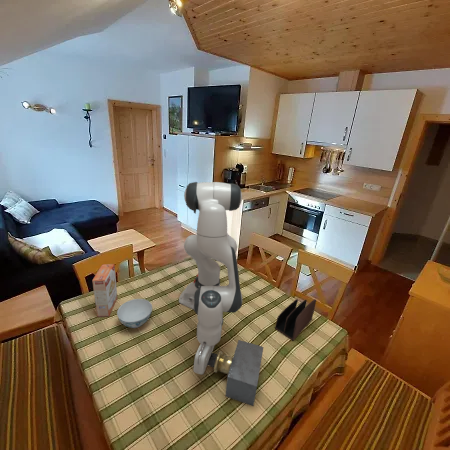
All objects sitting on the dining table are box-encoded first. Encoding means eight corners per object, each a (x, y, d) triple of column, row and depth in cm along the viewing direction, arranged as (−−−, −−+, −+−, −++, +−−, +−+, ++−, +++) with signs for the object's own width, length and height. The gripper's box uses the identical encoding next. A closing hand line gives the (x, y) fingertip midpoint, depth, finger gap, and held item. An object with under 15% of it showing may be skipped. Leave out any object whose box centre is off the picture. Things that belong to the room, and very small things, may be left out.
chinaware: (159, 323, 111) (158, 310, 108) (128, 341, 100) (126, 327, 98) (142, 306, 120) (141, 294, 117) (113, 321, 110) (111, 308, 107)
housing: (225, 396, 83) (227, 376, 79) (236, 357, 97) (238, 339, 93) (253, 406, 80) (256, 386, 77) (260, 365, 95) (263, 347, 91)
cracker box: (110, 316, 112) (105, 280, 105) (96, 317, 112) (91, 280, 104) (118, 297, 125) (114, 263, 118) (106, 297, 124) (101, 263, 117)
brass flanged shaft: (195, 370, 89) (196, 356, 86) (202, 354, 96) (203, 341, 93) (234, 383, 86) (236, 369, 83) (239, 366, 92) (240, 353, 89)
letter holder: (311, 320, 121) (318, 297, 115) (292, 341, 107) (298, 317, 102) (294, 309, 127) (299, 288, 122) (274, 329, 113) (278, 305, 108)
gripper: (207, 359, 75) (205, 388, 81) (224, 315, 94) (222, 341, 99) (189, 353, 77) (188, 382, 82) (209, 311, 95) (208, 337, 100)
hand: (207, 359), depth 91 cm, fingers closed on brass flanged shaft, 3 cm apart
